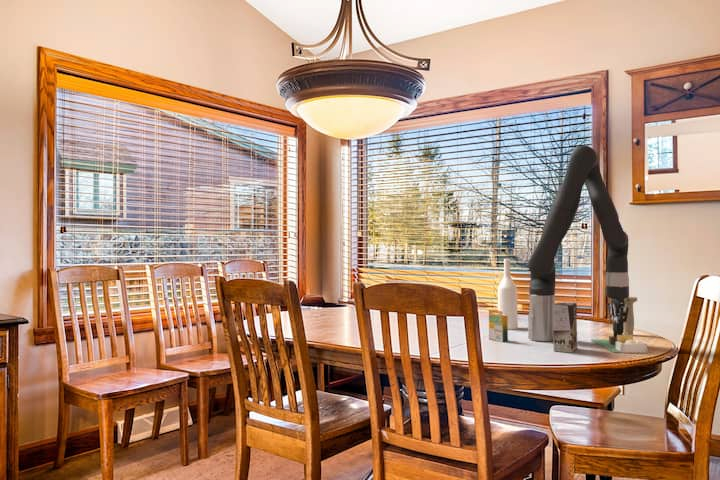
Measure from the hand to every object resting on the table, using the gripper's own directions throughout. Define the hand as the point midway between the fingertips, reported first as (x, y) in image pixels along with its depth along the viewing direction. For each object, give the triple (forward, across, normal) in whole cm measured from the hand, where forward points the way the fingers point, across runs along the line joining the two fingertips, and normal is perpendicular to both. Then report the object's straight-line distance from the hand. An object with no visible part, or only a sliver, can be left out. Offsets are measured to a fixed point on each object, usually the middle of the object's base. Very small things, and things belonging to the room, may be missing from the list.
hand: (618, 332), depth 195 cm
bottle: (+5, -36, -32) cm, 49 cm away
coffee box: (+5, +9, -21) cm, 23 cm away
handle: (+5, -21, +12) cm, 24 cm away
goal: (+5, +11, 0) cm, 12 cm away
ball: (+2, +10, 0) cm, 11 cm away
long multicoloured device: (+4, +3, 0) cm, 5 cm away
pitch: (+5, +2, -1) cm, 5 cm away
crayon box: (+5, -8, -41) cm, 42 cm away
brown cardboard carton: (+5, 0, 0) cm, 5 cm away
